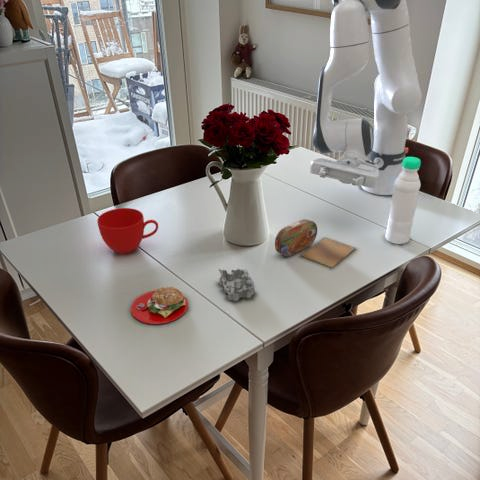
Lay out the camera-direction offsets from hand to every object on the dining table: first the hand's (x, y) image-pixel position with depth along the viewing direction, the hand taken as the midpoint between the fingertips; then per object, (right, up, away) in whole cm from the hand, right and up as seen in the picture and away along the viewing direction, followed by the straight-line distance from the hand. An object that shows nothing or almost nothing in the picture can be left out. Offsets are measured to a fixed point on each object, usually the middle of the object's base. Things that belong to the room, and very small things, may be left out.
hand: (338, 178), depth 143 cm
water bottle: (+19, -17, +8) cm, 27 cm away
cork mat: (-2, -21, +2) cm, 21 cm away
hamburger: (-48, -36, -18) cm, 63 cm away
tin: (-12, -20, +4) cm, 24 cm away
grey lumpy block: (-29, -32, -12) cm, 44 cm away
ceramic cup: (-60, -19, +6) cm, 63 cm away
